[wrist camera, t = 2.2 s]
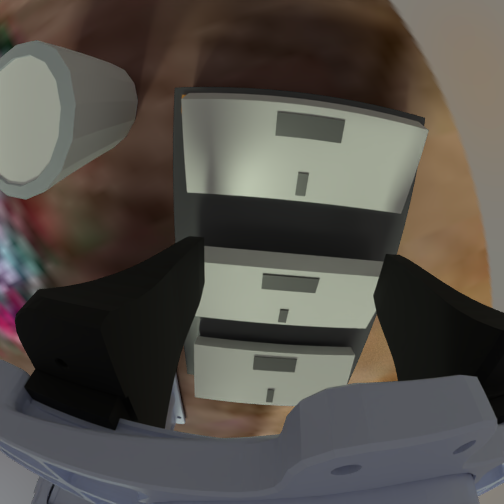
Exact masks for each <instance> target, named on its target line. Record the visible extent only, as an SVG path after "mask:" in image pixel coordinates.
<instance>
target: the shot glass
mask: <svg viewBox="0 0 504 504" xmlns="http://www.w3.org/2000/svg"><path fill="white" fill-rule="evenodd" d="M137 104H138V98H137V94H136V89H135V84H134V82H133V81H132V79H131V78H130V77H129V75H128V74H127V72H126V71H125V70H124V69H122V68H120V67H118V66H116V65H114V64H112V63H109V62H106V61H104V60H101V59H98V58H95V57H92V56H89V55H86V54H83V53H80V52H76V51H73V50H70V49H67V48H63V47H60V46H56V45H53V44H49V43H45V42H41V41H37V40H36V41H31V42H27V43H23V44H19V45H16V46H15V47H13V48H12V49H11V50H10V51H9V52H7V53H6V54H5V55H4V56H3V57H1V58H0V190H2V191H3V192H4V193H5V194H6V195H8V196H12V197H17V198H21V199H28V198H31V197H33V196H35V195H38V194H40V193H43V192H45V191H46V190H48V189H49V188H51V187H52V186H53V185H55V184H56V183H58V182H59V181H61V180H62V179H64V178H65V177H67V176H68V175H70V174H71V173H73V172H74V171H76V170H77V169H79V168H81V167H82V166H84V165H85V164H87V163H89V162H90V161H92V160H94V159H95V158H97V157H99V156H100V155H102V154H104V153H105V152H107V151H109V150H111V149H112V148H114V147H115V146H116V145H117V144H118V143H120V142H121V141H122V140H123V139H124V138H125V137H126V136H127V134H128V132H129V130H130V129H131V127H132V125H133V123H134V121H135V118H136V111H137Z"/></svg>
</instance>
